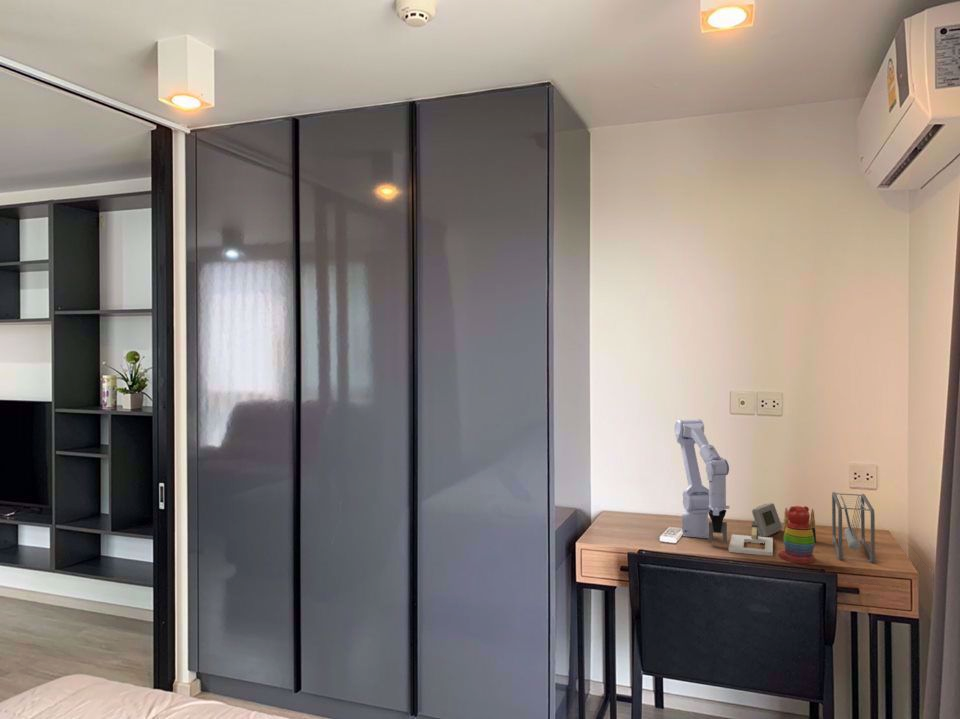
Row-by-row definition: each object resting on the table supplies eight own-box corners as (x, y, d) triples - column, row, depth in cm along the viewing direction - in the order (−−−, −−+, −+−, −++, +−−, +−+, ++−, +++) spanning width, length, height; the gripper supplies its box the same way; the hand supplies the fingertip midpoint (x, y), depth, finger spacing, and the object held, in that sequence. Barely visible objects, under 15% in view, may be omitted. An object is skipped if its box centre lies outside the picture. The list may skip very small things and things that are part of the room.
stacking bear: (808, 554, 236) (807, 502, 236) (822, 563, 226) (821, 509, 225) (776, 555, 236) (775, 502, 236) (788, 564, 226) (788, 509, 226)
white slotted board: (728, 551, 240) (728, 534, 240) (732, 537, 259) (731, 521, 259) (772, 556, 235) (772, 537, 235) (772, 541, 253) (772, 524, 253)
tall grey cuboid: (708, 541, 248) (708, 522, 247) (709, 540, 250) (709, 520, 250) (726, 543, 245) (726, 523, 245) (726, 541, 247) (726, 522, 247)
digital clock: (763, 539, 256) (763, 510, 256) (742, 534, 264) (742, 506, 264) (790, 532, 265) (789, 505, 265) (769, 528, 272) (768, 501, 272)
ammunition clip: (784, 540, 254) (783, 507, 254) (783, 539, 256) (783, 506, 256) (816, 542, 251) (815, 509, 251) (815, 541, 253) (814, 508, 253)
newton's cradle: (832, 538, 256) (831, 490, 256) (864, 541, 252) (864, 492, 251) (838, 561, 228) (838, 507, 228) (875, 564, 224) (874, 510, 224)
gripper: (727, 498, 239) (728, 537, 239) (730, 490, 252) (730, 527, 253) (706, 496, 242) (706, 535, 242) (710, 488, 255) (710, 525, 255)
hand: (717, 531), depth 247 cm, fingers closed on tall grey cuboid, 2 cm apart
